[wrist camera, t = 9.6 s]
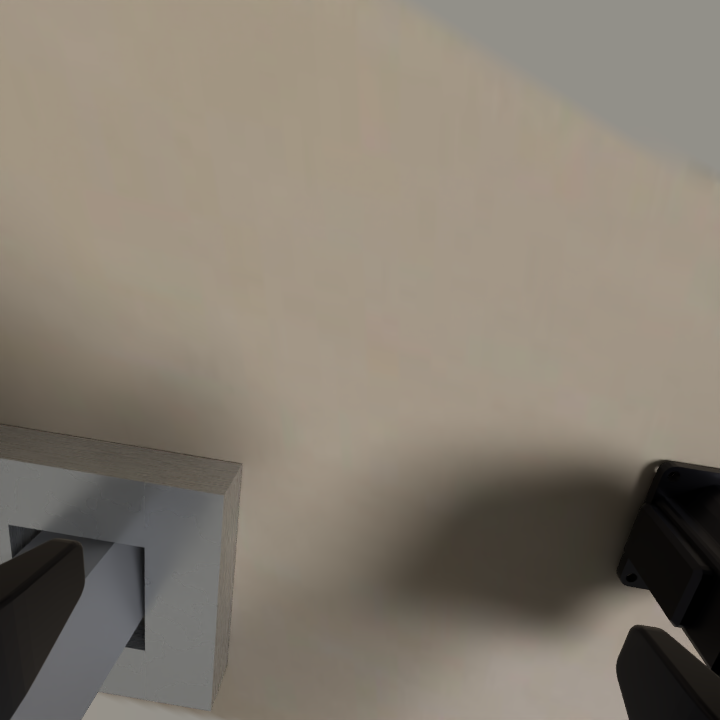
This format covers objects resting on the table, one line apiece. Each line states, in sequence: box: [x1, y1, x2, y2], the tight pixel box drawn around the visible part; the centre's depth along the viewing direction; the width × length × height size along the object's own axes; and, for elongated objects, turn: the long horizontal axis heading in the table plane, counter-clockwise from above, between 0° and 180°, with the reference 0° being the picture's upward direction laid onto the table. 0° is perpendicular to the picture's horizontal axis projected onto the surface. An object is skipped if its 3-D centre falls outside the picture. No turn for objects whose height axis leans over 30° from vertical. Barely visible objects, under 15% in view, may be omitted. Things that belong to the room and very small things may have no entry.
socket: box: [0, 424, 242, 711], centre depth 23 cm, size 13×13×3 cm
